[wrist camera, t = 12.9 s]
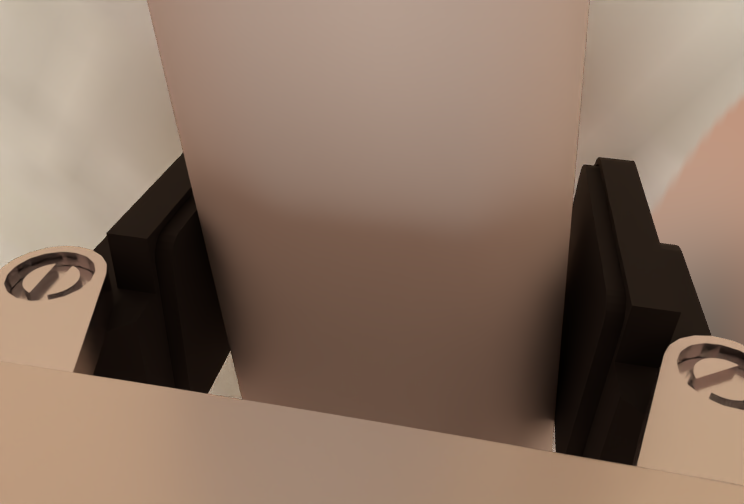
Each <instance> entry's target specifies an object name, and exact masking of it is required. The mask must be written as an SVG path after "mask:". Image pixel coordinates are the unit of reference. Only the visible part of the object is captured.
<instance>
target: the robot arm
mask: <svg viewBox="0 0 744 504" xmlns="http://www.w3.org/2000/svg"><path fill="white" fill-rule="evenodd" d="M229 352H230V346H229V342H228V338H227V333H226V329H225V325H224V321H223V317H222V312H221V308H220V304H219V300H218V296H217V291H216V287H215V283H214V279H213V275H212V270H211V266H210V262H209V258H208V254H207V249H206V245H205V241H204V237H203V233H202V229H201V224H200V220H199V216H198V212H197V208H196V203H195V199H194V195H193V191H192V187H191V182H190V178H189V174H188V170H187V166H186V161H185V157H184V153H182V155H181V156H180V157H179V158H178V159H177V160H176V161H175V162H174V163H173V164H172V165H171V166H170V167H169V168H168V169H167V170H166V171H165V172H164V173H163V174H162V176H161V177H160V178H159V179H158V180H157V181H156V182H155V183H154V184H153V185H152V186H151V187H150V188H149V189H148V190H147V191H146V192H145V193H144V194H143V195H142V197H141V198H140V199H139V200H138V201H137V202H136V203H135V204H134V205H133V206H132V207H131V208H130V209H129V210H128V211H127V212H126V213H125V214H124V215H123V216H122V218H121V219H120V220H119V221H118V222H117V223H116V224H115V225H114V226H113V227H112V228H111V229H110V230H109V231H108V232H107V236H106V237H105V238H104V240H103V241H102V242H101V243H100V244H99V245H98V246H97V247H96V248H95V249H94V250H90V249H86V248H82V247H75V246H58V247H49V248H44V249H40V250H36V251H32V252H29V253H27V254H25V255H22V256H20V257H18V258H15V259H14V260H12V261H11V262H9V263H8V264H6V265H5V266H3V267H2V268H1V269H0V504H744V345H742V344H739V343H737V342H734V341H732V340H728V339H723V338H719V337H714V336H711V333H710V330H709V328H708V325H707V322H706V319H705V316H704V313H703V311H702V308H701V305H700V302H699V299H698V296H697V293H696V291H695V288H694V285H693V282H692V279H691V276H690V274H689V271H688V268H687V265H686V262H685V259H684V256H683V254H682V251H681V249H680V248H679V246H677V245H671V244H663V243H660V242H659V239H658V236H657V232H656V229H655V226H654V223H653V219H652V216H651V213H650V210H649V206H648V203H647V200H646V197H645V193H644V190H643V187H642V184H641V181H640V177H639V174H638V171H637V168H636V164H635V162H634V161H628V160H619V159H610V158H601V157H599V158H597V160H596V162H595V165H594V166H592V165H583V166H582V169H581V172H580V176H579V180H578V185H577V189H576V193H575V197H574V202H573V206H572V216H571V228H570V240H569V252H568V264H567V276H566V288H565V300H564V312H563V324H562V336H561V348H560V360H559V372H558V384H557V396H556V408H555V419H554V424H555V443H556V452H551V451H546V450H540V449H534V448H528V447H522V446H516V445H511V444H505V443H499V442H493V441H487V440H481V439H476V438H470V437H464V436H458V435H452V434H446V433H440V432H434V431H428V430H423V429H417V428H411V427H405V426H399V425H393V424H387V423H381V422H375V421H369V420H363V419H357V418H351V417H345V416H339V415H333V414H327V413H321V412H315V411H309V410H303V409H297V408H291V407H285V406H279V405H273V404H267V403H261V402H255V401H248V400H242V399H236V398H230V397H224V396H218V395H212V394H208V392H209V390H210V388H211V387H212V385H213V383H214V381H215V379H216V377H217V375H218V373H219V371H220V369H221V368H222V366H223V364H224V362H225V360H226V358H227V356H228V354H229Z"/></svg>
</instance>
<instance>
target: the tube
mask: <svg viewBox="0 0 744 504" xmlns="http://www.w3.org/2000/svg"><path fill="white" fill-rule="evenodd" d="M589 1H590V0H147V2H148V6H149V11H150V15H151V19H152V23H153V27H154V31H155V36H156V40H157V44H158V48H159V52H160V57H161V61H162V65H163V69H164V73H165V78H166V82H167V86H168V90H169V94H170V99H171V103H172V107H173V111H174V115H175V120H176V124H177V128H178V132H179V136H180V140H181V145H182V149H183V153H184V157H185V161H186V166H187V170H188V174H189V178H190V182H191V187H192V191H193V195H194V199H195V203H196V208H197V212H198V216H199V220H200V224H201V229H202V233H203V237H204V241H205V245H206V249H207V254H208V258H209V262H210V266H211V270H212V275H213V279H214V283H215V287H216V291H217V296H218V300H219V304H220V308H221V312H222V317H223V321H224V325H225V329H226V333H227V338H228V342H229V346H230V350H231V354H232V358H233V363H234V367H235V371H236V375H237V379H238V384H239V388H240V392H241V396H242V400H248V401H255V402H261V403H267V404H273V405H279V406H285V407H291V408H297V409H303V410H309V411H315V412H321V413H327V414H333V415H339V416H345V417H351V418H357V419H363V420H369V421H375V422H381V423H387V424H393V425H399V426H405V427H411V428H417V429H423V430H428V431H434V432H440V433H446V434H452V435H458V436H464V437H470V438H476V439H481V440H487V441H493V442H499V443H505V444H511V445H516V446H522V447H528V448H534V449H540V450H546V451H551V452H552V444H553V432H554V419H555V408H556V396H557V384H558V372H559V360H560V348H561V336H562V324H563V312H564V300H565V288H566V276H567V264H568V252H569V240H570V228H571V216H572V205H573V193H574V181H575V169H576V157H577V145H578V133H579V121H580V109H581V97H582V85H583V73H584V61H585V49H586V37H587V25H588V13H589Z"/></svg>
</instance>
